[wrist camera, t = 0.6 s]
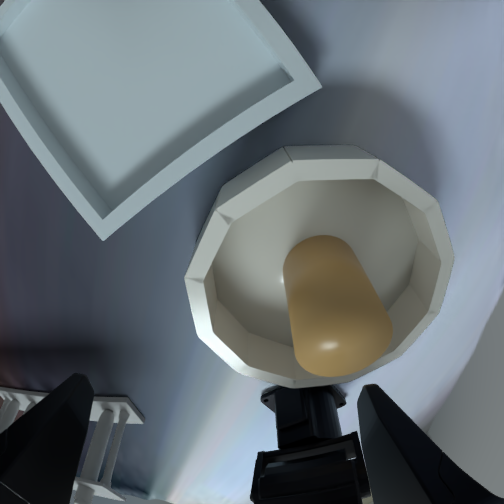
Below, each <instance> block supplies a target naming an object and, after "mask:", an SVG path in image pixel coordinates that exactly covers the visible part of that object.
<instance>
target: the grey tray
mask: <svg viewBox="0 0 504 504" xmlns="http://www.w3.org/2000/svg"><path fill="white" fill-rule="evenodd" d="M320 88H322V86H321V84H320V83H319V81H318V80H317V78H316V76H315V75H314V73H313V72H312V70H311V69H310V67H309V66H308V65H307V63H306V62H305V60H304V59H303V57H302V56H301V54H300V53H299V52H298V50H297V49H296V47H295V46H294V45H293V43H292V42H291V41H290V39H289V38H288V36H287V35H286V34H285V32H284V31H283V30H282V28H281V27H280V26H279V25H278V23H277V22H276V21H275V19H274V18H273V17H272V16H271V14H270V13H269V12H268V11H267V9H266V8H265V7H264V6H263V4H262V3H261V2H260V1H259V0H5V1H4V3H3V4H2V5H1V6H0V102H1V104H2V105H3V107H4V109H5V110H6V112H7V113H8V115H9V117H10V118H11V120H12V121H13V123H14V124H15V126H16V127H17V129H18V130H19V132H20V133H21V135H22V136H23V138H24V139H25V141H26V142H27V144H28V145H29V147H30V148H31V150H32V151H33V152H34V154H35V155H36V157H37V158H38V159H39V161H40V162H41V164H42V165H43V166H44V168H45V169H46V170H47V172H48V173H49V174H50V176H51V177H52V179H53V180H54V181H55V182H56V184H57V185H58V186H59V188H60V189H61V190H62V192H63V193H64V194H65V196H66V197H67V198H68V199H69V201H70V202H71V203H72V204H73V206H74V207H75V208H76V209H77V211H78V212H79V213H80V214H81V216H82V217H83V218H84V219H85V220H86V222H87V223H88V224H89V225H90V226H91V228H92V229H93V230H94V231H95V232H96V234H97V235H98V236H99V237H100V238H101V239H102V241H104V240H105V239H106V238H108V237H109V236H110V235H111V234H112V233H113V232H115V231H116V230H117V229H118V228H119V227H121V226H122V225H123V224H124V223H125V222H127V221H128V220H129V219H130V218H132V217H133V216H134V215H135V214H136V213H138V212H139V211H140V210H141V209H143V208H144V207H145V206H146V205H148V204H149V203H150V202H152V201H153V200H154V199H155V198H157V197H158V196H159V195H161V194H162V193H163V192H164V191H166V190H167V189H168V188H170V187H171V186H172V185H174V184H175V183H176V182H178V181H179V180H180V179H182V178H183V177H184V176H186V175H187V174H189V173H190V172H191V171H193V170H194V169H195V168H197V167H198V166H200V165H201V164H202V163H204V162H205V161H207V160H208V159H209V158H211V157H212V156H214V155H215V154H217V153H218V152H220V151H221V150H222V149H224V148H225V147H227V146H228V145H230V144H231V143H233V142H234V141H236V140H237V139H239V138H240V137H242V136H243V135H245V134H246V133H248V132H249V131H251V130H252V129H254V128H256V127H257V126H259V125H260V124H262V123H263V122H265V121H267V120H268V119H270V118H271V117H273V116H275V115H276V114H278V113H279V112H281V111H283V110H284V109H286V108H288V107H289V106H291V105H293V104H294V103H296V102H298V101H299V100H301V99H303V98H305V97H306V96H308V95H310V94H311V93H313V92H315V91H317V90H319V89H320Z"/></svg>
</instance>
